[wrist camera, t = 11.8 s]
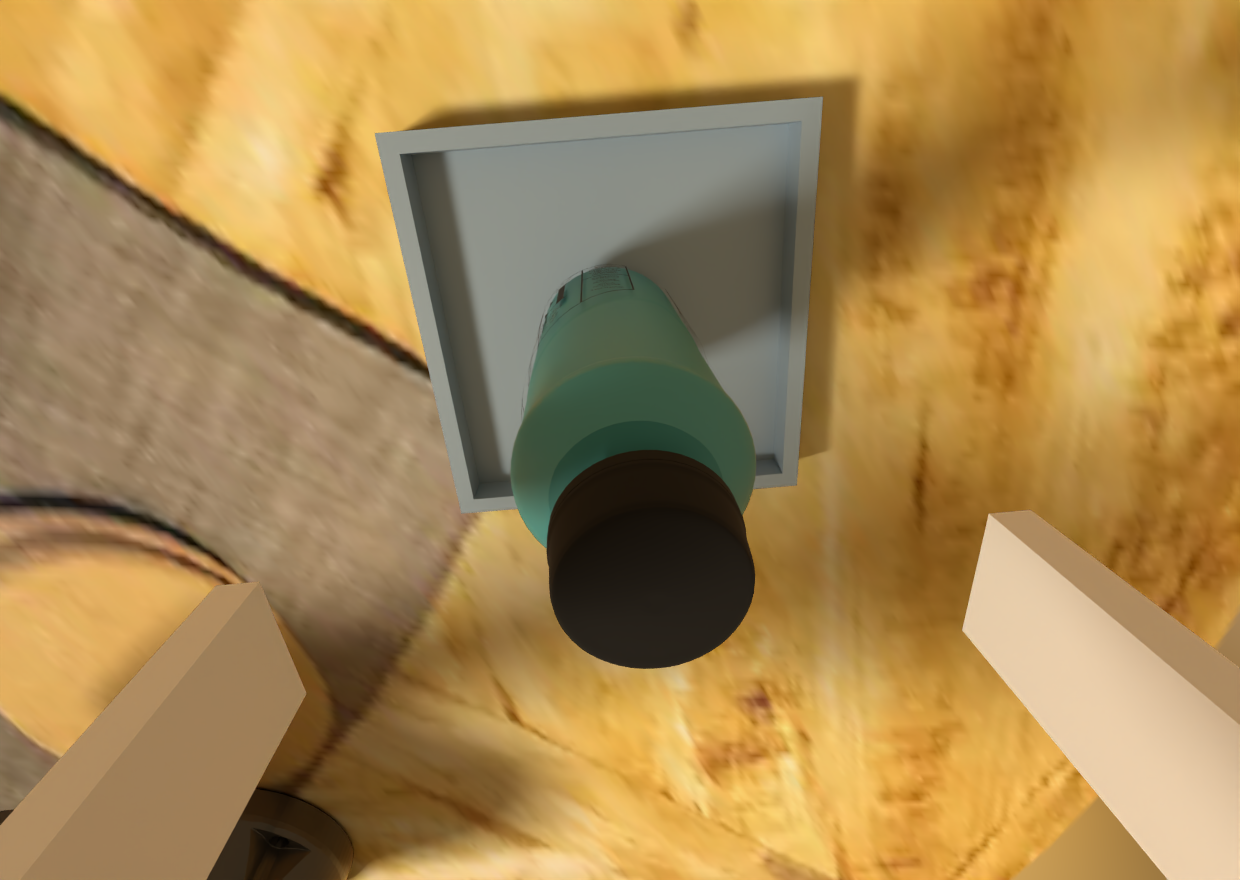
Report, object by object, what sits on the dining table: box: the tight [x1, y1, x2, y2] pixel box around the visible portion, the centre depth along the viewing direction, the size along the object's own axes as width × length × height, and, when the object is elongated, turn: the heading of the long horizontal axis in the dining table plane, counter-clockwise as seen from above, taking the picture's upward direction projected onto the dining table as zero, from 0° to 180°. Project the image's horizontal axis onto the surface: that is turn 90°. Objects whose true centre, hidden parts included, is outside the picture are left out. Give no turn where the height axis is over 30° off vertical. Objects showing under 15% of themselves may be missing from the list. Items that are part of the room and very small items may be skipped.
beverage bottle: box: [510, 264, 756, 669], centre depth 19 cm, size 6×7×20 cm
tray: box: [375, 97, 823, 514], centre depth 28 cm, size 18×18×2 cm
